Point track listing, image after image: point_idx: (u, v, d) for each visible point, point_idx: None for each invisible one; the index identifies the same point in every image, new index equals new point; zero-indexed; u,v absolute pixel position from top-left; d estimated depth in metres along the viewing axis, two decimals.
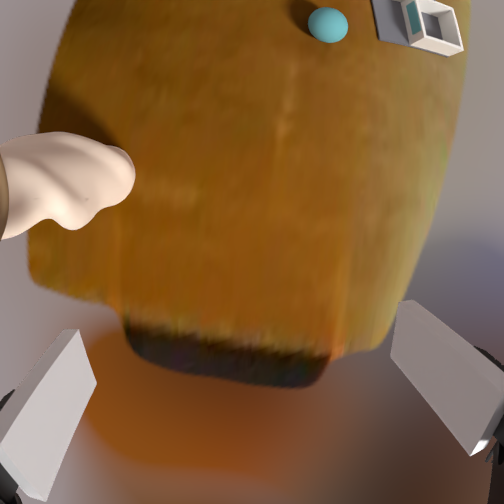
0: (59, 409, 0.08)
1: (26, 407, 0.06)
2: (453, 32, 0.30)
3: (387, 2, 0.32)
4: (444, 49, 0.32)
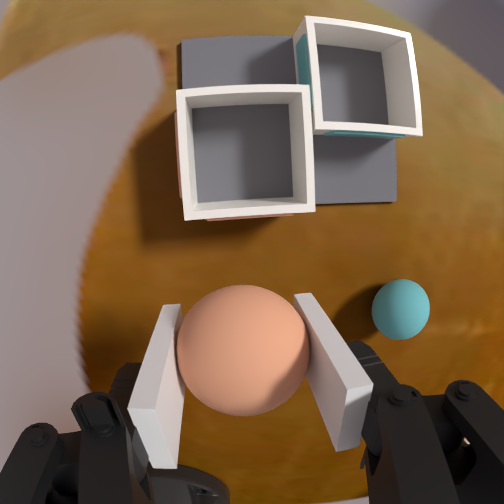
0: (177, 376, 0.10)
1: (164, 372, 0.09)
2: (365, 34, 0.17)
3: None
4: None
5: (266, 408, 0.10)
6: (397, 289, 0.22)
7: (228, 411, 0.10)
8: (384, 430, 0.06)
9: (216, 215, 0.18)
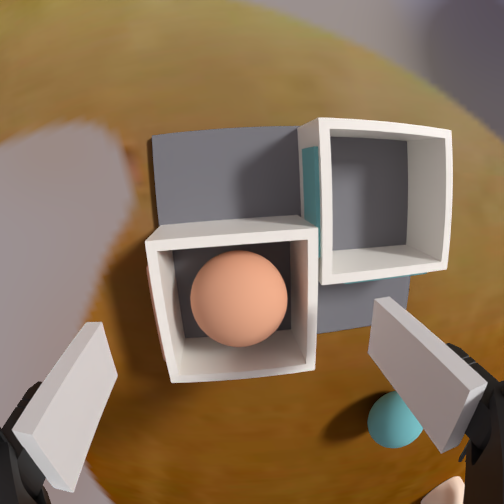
0: (85, 399, 0.09)
1: (56, 397, 0.07)
2: (395, 134, 0.14)
3: None
4: None
5: (259, 335, 0.15)
6: (395, 408, 0.20)
7: (232, 339, 0.15)
8: (496, 418, 0.05)
9: (205, 379, 0.16)
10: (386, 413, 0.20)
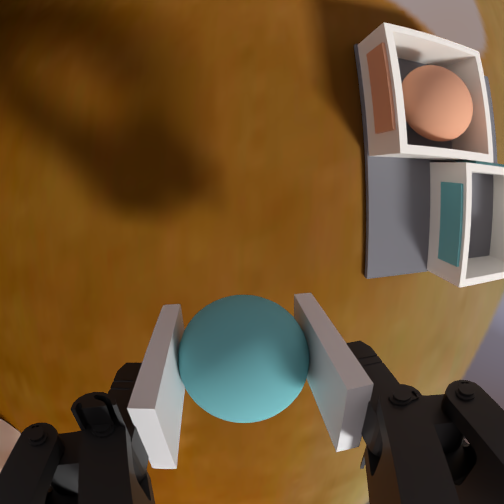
0: (177, 376, 0.10)
1: (164, 372, 0.09)
2: None
3: (401, 168, 0.19)
4: None
5: (443, 110, 0.14)
6: (303, 339, 0.11)
7: (442, 88, 0.13)
8: (385, 430, 0.06)
9: (391, 50, 0.13)
10: (292, 324, 0.11)
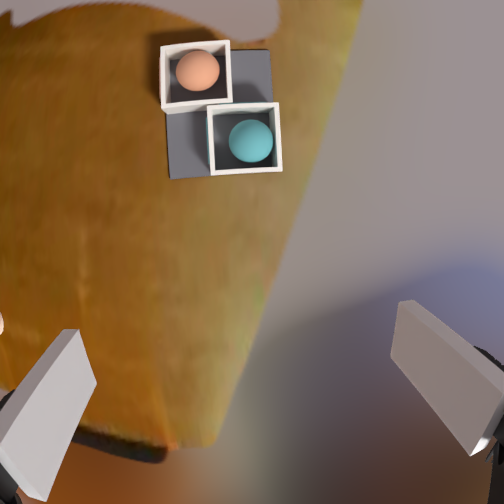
0: (59, 409, 0.08)
1: (26, 407, 0.06)
2: (275, 142, 0.34)
3: (187, 117, 0.35)
4: None
5: (186, 66, 0.29)
6: None
7: (186, 57, 0.29)
8: None
9: (161, 60, 0.29)
10: None
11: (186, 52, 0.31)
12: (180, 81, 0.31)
